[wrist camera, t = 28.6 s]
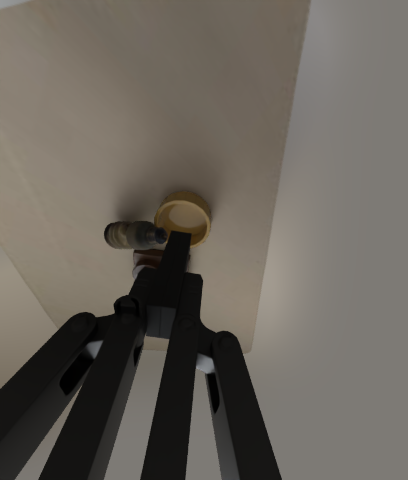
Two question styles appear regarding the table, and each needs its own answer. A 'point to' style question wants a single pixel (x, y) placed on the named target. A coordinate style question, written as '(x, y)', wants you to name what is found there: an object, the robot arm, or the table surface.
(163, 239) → the light bulb
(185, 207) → the lamp holder
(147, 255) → the switch box
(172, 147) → the table surface
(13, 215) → the table surface
